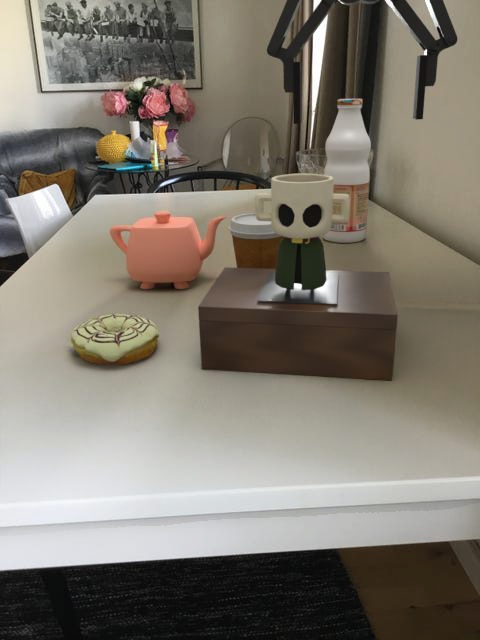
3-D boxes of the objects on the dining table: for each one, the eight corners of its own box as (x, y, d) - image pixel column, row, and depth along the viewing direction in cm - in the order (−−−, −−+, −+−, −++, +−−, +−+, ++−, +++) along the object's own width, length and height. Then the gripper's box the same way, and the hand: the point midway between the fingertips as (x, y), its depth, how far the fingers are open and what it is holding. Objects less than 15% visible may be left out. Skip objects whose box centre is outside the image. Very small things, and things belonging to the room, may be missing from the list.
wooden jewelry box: (384, 327, 77) (389, 270, 74) (392, 380, 63) (398, 312, 60) (226, 320, 81) (224, 265, 78) (201, 369, 67) (197, 304, 64)
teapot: (105, 292, 93) (96, 220, 89) (124, 270, 104) (117, 205, 100) (226, 292, 92) (223, 219, 87) (232, 270, 103) (230, 204, 98)
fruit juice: (325, 244, 118) (330, 100, 107) (318, 233, 126) (322, 99, 116) (370, 243, 118) (379, 98, 107) (360, 232, 126) (368, 97, 116)
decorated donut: (118, 378, 66) (114, 348, 64) (56, 357, 71) (52, 329, 70) (175, 344, 74) (173, 318, 72) (116, 328, 79) (113, 303, 78)
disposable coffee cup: (246, 279, 98) (244, 210, 93) (298, 286, 94) (299, 214, 89) (220, 297, 90) (217, 222, 85) (275, 305, 86) (275, 227, 81)
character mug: (251, 294, 67) (249, 182, 62) (261, 275, 73) (260, 172, 68) (344, 298, 65) (350, 183, 60) (346, 278, 71) (351, 173, 66)
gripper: (236, -100, 56) (245, 126, 64) (505, -127, 52) (477, 118, 60) (247, -80, 63) (254, 122, 71) (485, -103, 59) (463, 115, 67)
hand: (356, 121), depth 65 cm, fingers open, 13 cm apart
